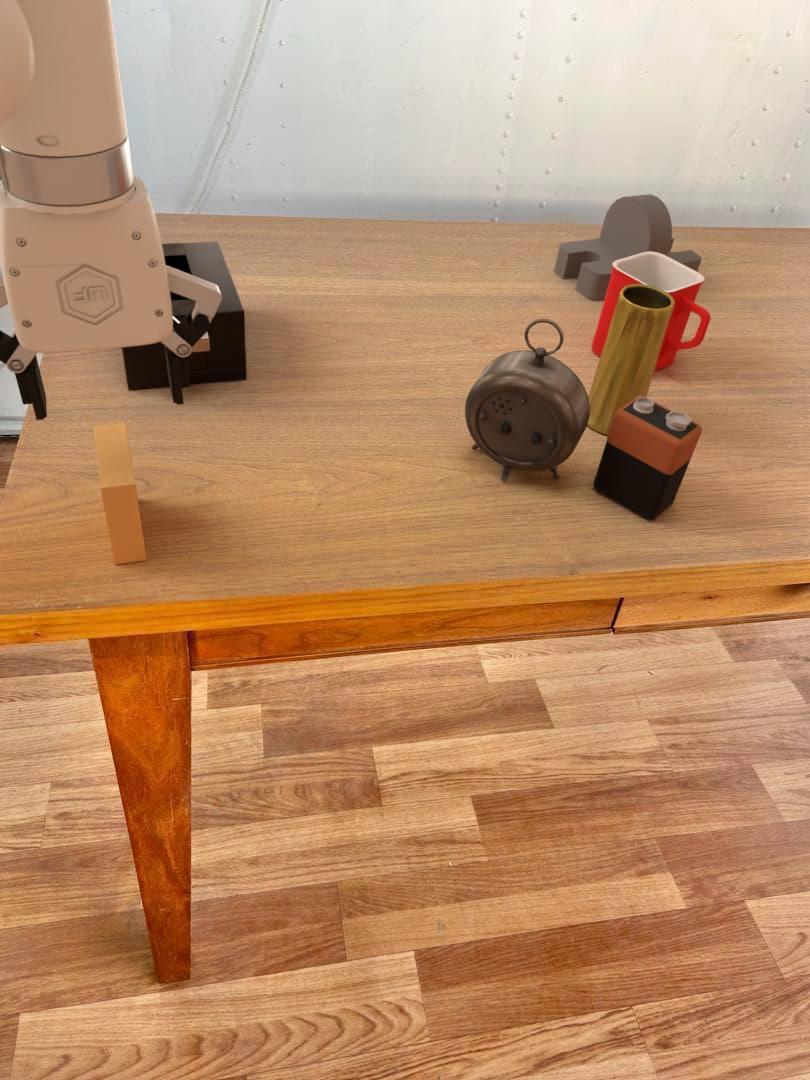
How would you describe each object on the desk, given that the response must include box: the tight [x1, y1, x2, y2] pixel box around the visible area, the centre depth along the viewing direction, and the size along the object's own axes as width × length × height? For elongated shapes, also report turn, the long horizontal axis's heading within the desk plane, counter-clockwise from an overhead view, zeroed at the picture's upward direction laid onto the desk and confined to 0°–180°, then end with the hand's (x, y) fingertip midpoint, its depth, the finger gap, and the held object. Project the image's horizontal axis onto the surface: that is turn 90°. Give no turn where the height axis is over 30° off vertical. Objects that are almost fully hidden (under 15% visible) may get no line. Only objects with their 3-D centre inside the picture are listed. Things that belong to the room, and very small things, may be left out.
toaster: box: [120, 240, 247, 391], centre depth 91 cm, size 12×16×8 cm
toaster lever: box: [192, 332, 210, 352], centre depth 83 cm, size 4×3×2 cm
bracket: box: [553, 193, 703, 301], centre depth 114 cm, size 10×18×11 cm, turn 116°
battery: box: [592, 396, 703, 521], centre depth 79 cm, size 4×7×10 cm, turn 47°
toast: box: [93, 422, 147, 565], centre depth 69 cm, size 2×8×8 cm, turn 18°
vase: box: [587, 284, 675, 436], centre depth 87 cm, size 6×6×14 cm
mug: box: [591, 251, 711, 372], centre depth 97 cm, size 12×8×11 cm
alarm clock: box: [464, 318, 590, 483], centre depth 78 cm, size 11×5×16 cm, turn 65°
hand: (110, 401), depth 64 cm, fingers open, 9 cm apart
